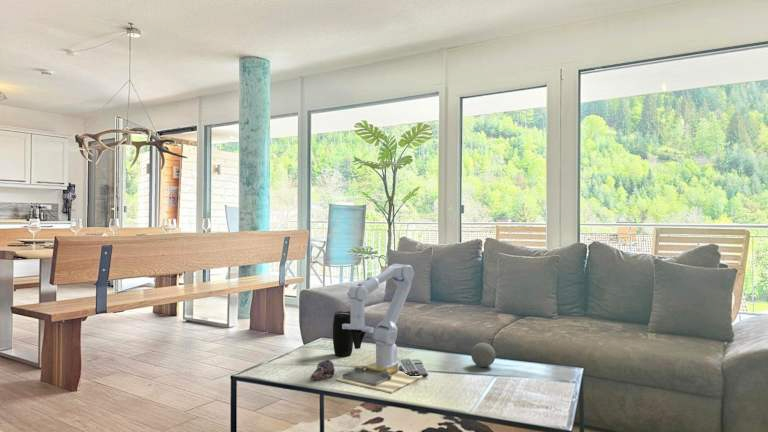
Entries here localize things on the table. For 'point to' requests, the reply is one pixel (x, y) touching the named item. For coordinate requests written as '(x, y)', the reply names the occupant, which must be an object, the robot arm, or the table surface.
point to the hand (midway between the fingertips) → (357, 348)
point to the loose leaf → (382, 369)
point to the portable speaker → (342, 334)
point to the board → (387, 382)
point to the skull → (323, 370)
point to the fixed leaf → (367, 376)
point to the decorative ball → (483, 354)
